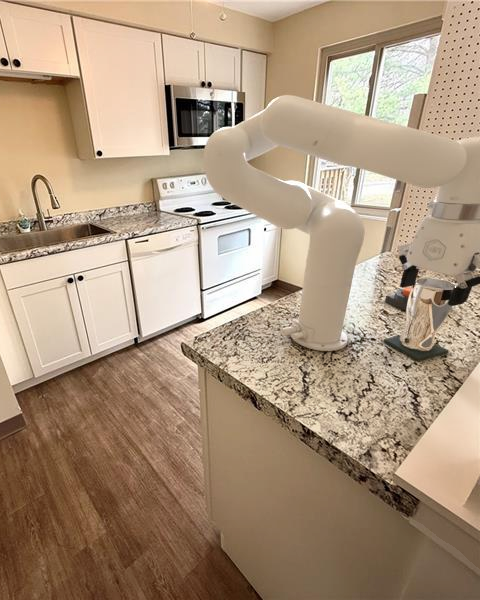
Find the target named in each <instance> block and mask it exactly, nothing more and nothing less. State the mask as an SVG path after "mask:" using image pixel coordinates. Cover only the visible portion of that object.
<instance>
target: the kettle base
mask: <svg viewBox="0 0 480 600" xmlns="http://www.w3.org/2000/svg"><path fill="white" fill-rule="evenodd" d="M403 290H404V288H402V289H397V290H396V291H395V293H391V294H388V295H386V297H385V301H384V303H386V304H388V305H390V306H393V307H395V308H397V309H399V310H402V311H404V312H406V308H407V302H408V298H409V297H408V296H404V295H402V293H403Z"/></svg>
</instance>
